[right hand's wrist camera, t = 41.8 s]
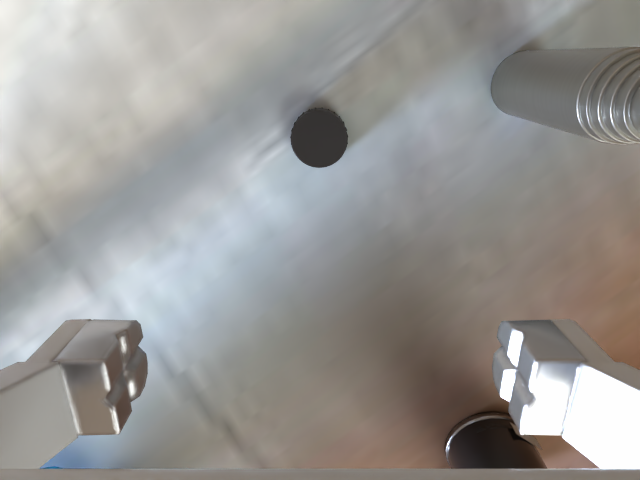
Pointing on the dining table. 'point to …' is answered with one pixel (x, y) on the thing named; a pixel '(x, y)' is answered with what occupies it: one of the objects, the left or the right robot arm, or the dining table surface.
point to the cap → (319, 137)
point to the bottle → (574, 91)
